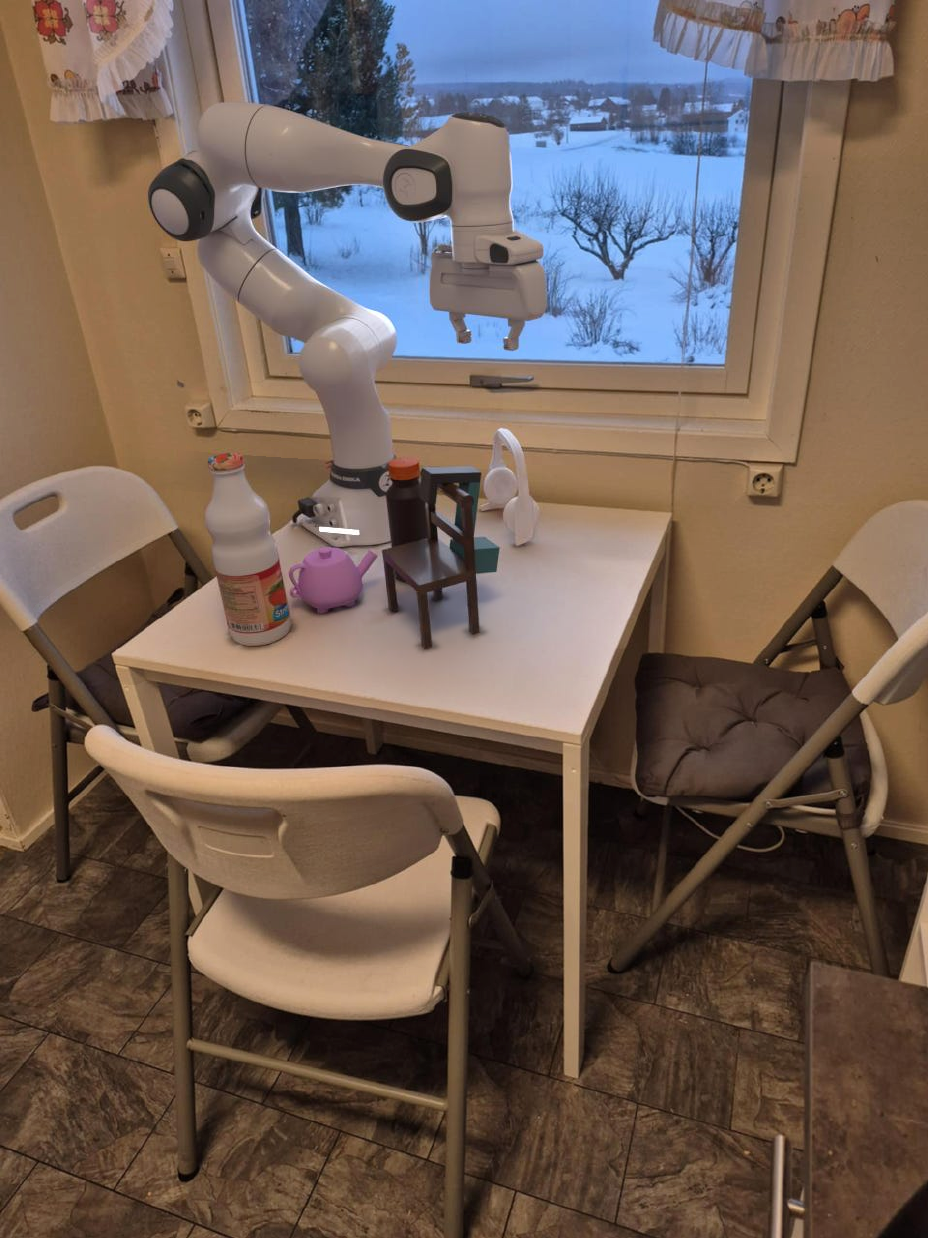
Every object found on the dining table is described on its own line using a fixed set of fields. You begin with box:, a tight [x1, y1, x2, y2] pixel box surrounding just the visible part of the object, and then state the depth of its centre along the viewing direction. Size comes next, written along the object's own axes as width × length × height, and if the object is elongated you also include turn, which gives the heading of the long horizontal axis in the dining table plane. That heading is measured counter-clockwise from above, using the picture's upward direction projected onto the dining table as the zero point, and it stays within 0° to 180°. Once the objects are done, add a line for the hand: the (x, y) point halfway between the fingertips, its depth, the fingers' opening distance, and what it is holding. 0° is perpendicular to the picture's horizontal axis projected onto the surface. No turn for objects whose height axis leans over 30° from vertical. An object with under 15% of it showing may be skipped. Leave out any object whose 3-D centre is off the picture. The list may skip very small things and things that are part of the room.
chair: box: [381, 469, 481, 650], centre depth 126 cm, size 9×14×22 cm
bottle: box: [386, 456, 428, 583], centre depth 141 cm, size 7×7×20 cm
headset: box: [480, 427, 541, 547], centre depth 157 cm, size 20×7×18 cm, turn 12°
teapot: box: [288, 546, 378, 614], centre depth 137 cm, size 10×15×9 cm
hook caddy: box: [419, 465, 500, 575], centre depth 126 cm, size 12×5×16 cm, turn 117°
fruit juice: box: [204, 451, 292, 647], centre depth 125 cm, size 9×9×28 cm
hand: (487, 346), depth 127 cm, fingers open, 8 cm apart
